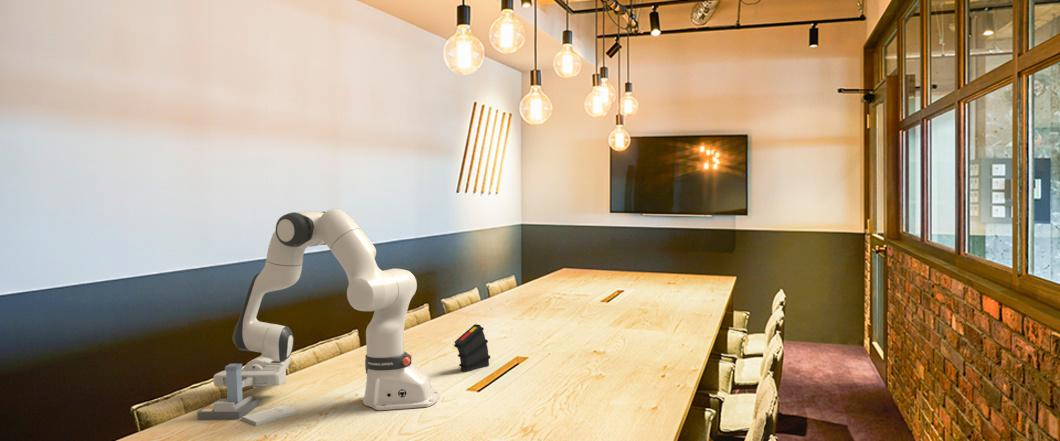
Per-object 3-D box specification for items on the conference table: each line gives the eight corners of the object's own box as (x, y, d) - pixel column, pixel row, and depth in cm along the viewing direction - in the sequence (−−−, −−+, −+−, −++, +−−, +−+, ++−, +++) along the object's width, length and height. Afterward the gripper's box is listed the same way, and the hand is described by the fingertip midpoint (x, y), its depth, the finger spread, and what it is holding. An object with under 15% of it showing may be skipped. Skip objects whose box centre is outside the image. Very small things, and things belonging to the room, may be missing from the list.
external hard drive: (241, 421, 187) (282, 409, 196) (256, 427, 181) (297, 415, 191) (241, 416, 186) (282, 404, 196) (255, 421, 181) (297, 409, 191)
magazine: (496, 359, 240) (482, 324, 235) (471, 382, 231) (456, 347, 226) (489, 357, 242) (474, 323, 237) (464, 380, 234) (449, 345, 229)
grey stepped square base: (258, 405, 199) (258, 390, 199) (239, 418, 187) (238, 403, 187) (219, 405, 200) (218, 391, 200) (197, 419, 188) (196, 403, 188)
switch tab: (243, 401, 196) (242, 363, 195) (238, 405, 192) (236, 366, 192) (232, 401, 196) (230, 363, 195) (226, 405, 193) (224, 366, 192)
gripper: (225, 363, 210) (202, 375, 196) (289, 361, 209) (270, 373, 195) (226, 382, 210) (203, 396, 196) (290, 381, 209) (271, 395, 195)
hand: (237, 385), depth 195 cm, fingers closed, pressing on switch tab
